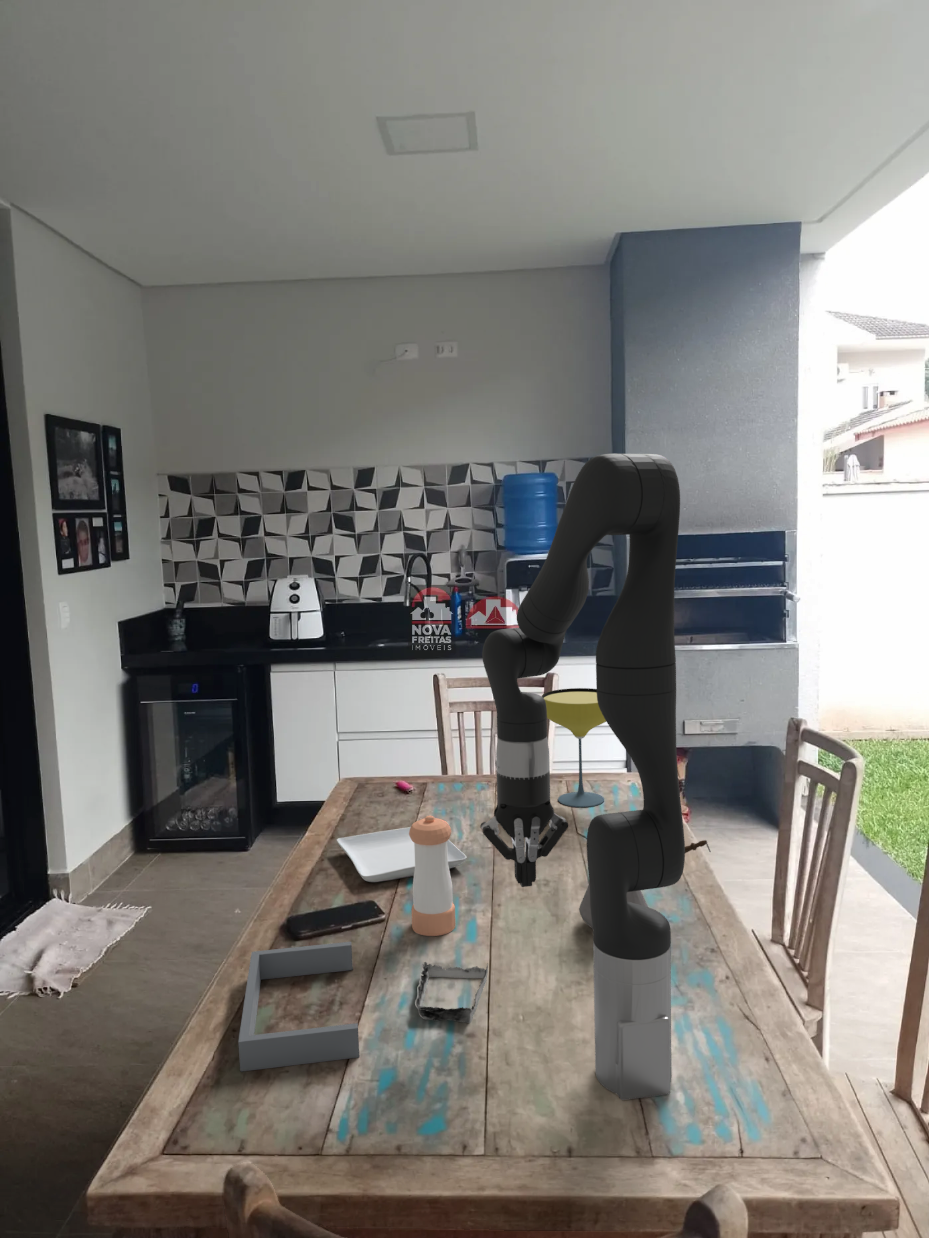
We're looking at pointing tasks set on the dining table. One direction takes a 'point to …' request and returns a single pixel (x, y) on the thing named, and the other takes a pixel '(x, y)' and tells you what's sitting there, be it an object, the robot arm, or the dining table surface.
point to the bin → (294, 1043)
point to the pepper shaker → (432, 878)
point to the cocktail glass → (576, 730)
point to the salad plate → (388, 854)
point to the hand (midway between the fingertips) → (525, 884)
